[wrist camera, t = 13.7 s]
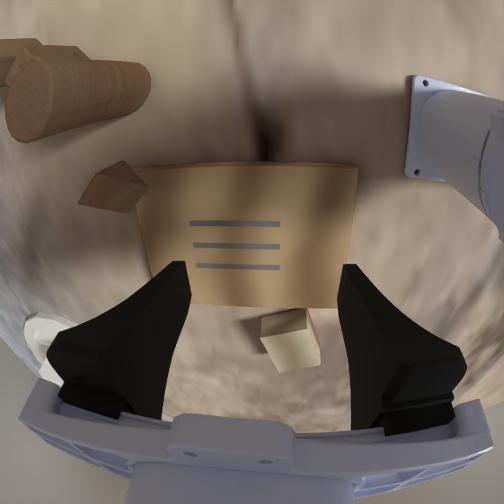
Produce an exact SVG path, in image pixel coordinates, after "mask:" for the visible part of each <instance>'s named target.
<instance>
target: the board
mask: <svg viewBox="0 0 504 504" xmlns="http://www.w3.org/2000/svg"><path fill="white" fill-rule="evenodd" d="M132 170H133V171H134V172H135V173H136V174H137V175H138V176H139V177H140V178H141V179H142V180H143V181H144V182H145V183H146V184H147V185H148V186H149V187H150V189H149V190H148V191H147V192H146V193H145V194H144V196H143V197H142V198H141V199H140V200H139V202H138V203H137V204H136V205H135V209H136V213H137V218H138V222H139V227H140V231H141V235H142V239H143V243H144V247H145V251H146V255H147V259H148V263H149V266H150V270H151V274H152V277H155V276H156V275H157V274H158V273H159V272H160V271H161V270H163V269H164V268H165V267H166V266H167V265H168V264H169V263H171V262H172V261H185V262H186V268H187V273H188V278H189V283H190V288H191V293H192V297H191V301H190V304H206V305H224V306H246V307H275V308H338V305H337V295H338V290H339V284H340V279H341V273H342V267H343V264H346V262H347V257H348V250H349V244H350V238H351V231H352V224H353V217H354V209H355V201H356V192H357V183H358V173H359V169H358V168H357V166H356V165H353V164H337V163H317V162H279V161H248V162H210V163H189V164H173V165H160V166H148V167H137V168H134V169H132Z"/></svg>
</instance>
